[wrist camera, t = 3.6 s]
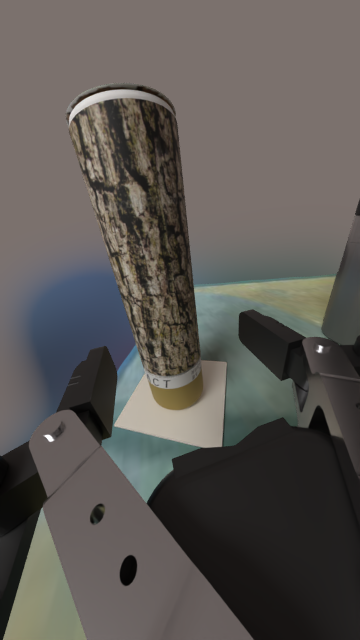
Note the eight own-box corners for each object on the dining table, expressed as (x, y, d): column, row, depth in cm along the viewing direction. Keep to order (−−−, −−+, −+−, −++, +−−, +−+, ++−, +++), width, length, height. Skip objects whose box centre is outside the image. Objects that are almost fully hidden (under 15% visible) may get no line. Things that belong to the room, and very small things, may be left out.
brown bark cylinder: (184, 363, 27) (150, 151, 15) (215, 392, 21) (198, 99, 10) (145, 386, 24) (64, 144, 12) (168, 425, 18) (66, 65, 7)
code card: (155, 356, 29) (155, 356, 29) (226, 363, 26) (226, 362, 26) (114, 426, 20) (113, 425, 19) (221, 452, 16) (221, 451, 16)
